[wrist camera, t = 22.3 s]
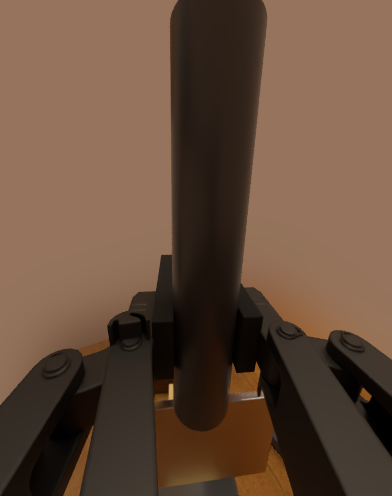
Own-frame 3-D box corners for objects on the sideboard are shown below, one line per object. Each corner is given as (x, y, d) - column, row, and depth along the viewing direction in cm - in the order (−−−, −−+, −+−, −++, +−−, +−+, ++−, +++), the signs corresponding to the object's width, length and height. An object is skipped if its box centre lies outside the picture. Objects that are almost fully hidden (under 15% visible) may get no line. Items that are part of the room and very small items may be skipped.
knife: (117, 528, 9) (24, -55, 4) (129, 457, 12) (84, 43, 6) (274, 501, 10) (395, 5, 5) (255, 441, 13) (317, 69, 7)
